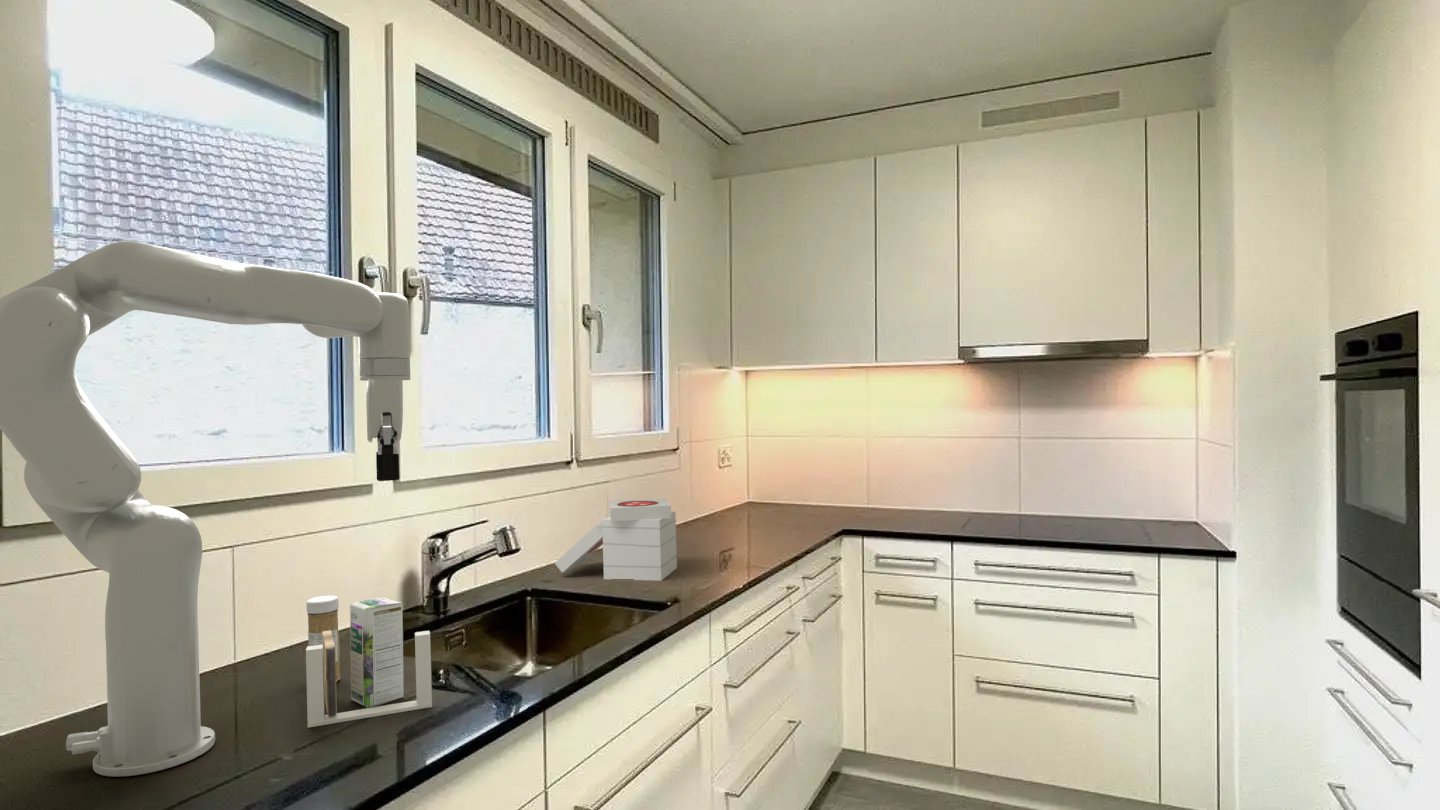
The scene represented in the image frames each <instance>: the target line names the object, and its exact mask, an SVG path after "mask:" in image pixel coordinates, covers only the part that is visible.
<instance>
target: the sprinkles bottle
mask: <svg viewBox="0 0 1440 810" xmlns="http://www.w3.org/2000/svg"><path fill="white" fill-rule="evenodd" d="M339 603H340V601H339V597H338V596H336V595H321V596H315V597H312V598H310V599H307V601H306V613H307V621H308V623H307V625H308V626H307V627H308V631H307V635H308V636H307V638H308V646H315V645H322V631H329V630H331V633H332V636H333V640H334V644H335V655H336V683H337V682H339V681H340V680H341V674H340V654H341V653H340V639H339V638H340V637H339V617H338V616H339V615H338V612H339ZM338 680H339V681H338Z"/></svg>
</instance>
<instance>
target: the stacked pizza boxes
mask: <svg viewBox="0 0 1440 810" xmlns="http://www.w3.org/2000/svg"><path fill="white" fill-rule="evenodd" d="M676 513H677V512H676V511H672V505H671V504H670V502H669V501H668V500H667V498H648V499H647V498H646V499H626V500H623V499H622V500H609V515H610V516H608V517H605V518H603V519H601V521H602V522H601V523H599V524H596V525H595V526H594V527H593V528H592V529H590V530H589V531H588V532H587V533H586V534H585V535H584V536H582V538H580V539H579V541H577V542H576V543H575V544H574V545H573V546H572V547H571V548H569V549H568V550H567V551H566V552H565V553H564V554H562V555H561V557H559V558H557V560H556V561H554V564H555V566H556V567H557V569H559V571H560V572H561V573H564V572H567V571H568V570H570V569H572V568H574V567H576V566H577V565H579V564H581V563H583V562H585V561H586V560H587V559H588V558H589V557H591V555H593V554H594V553H595V552H596V551H597V550H598V549H600V548H601V546H602V556H603V557H602V562H603V563H602V564H603V580H611V579H634V580H633V581H658V582H659V581H663V580H665V578H667V577H668V576H669V575H671V573H673V572H674V571H676V569H677V568H678V560H677V559H678V557H677V556H678V555H677V521H676V519H677V517H676V515H677V514H676Z"/></svg>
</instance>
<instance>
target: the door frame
mask: <svg viewBox="0 0 1440 810" xmlns="http://www.w3.org/2000/svg"><path fill="white" fill-rule="evenodd" d="M431 648H432V647H431V632H430V630H423V631H416V632H414V649H415V650H414V651H415V652H414V653H415V655H414V656H415V689H416V694H415V695H416V697H415V698H416V699H415V700H411V701H405V702H398V703H397V702H396V703H392V704H386V705H377V706H374V707H371V708H366V707H365V708H361V709H355V710H350V711H349V710H348V711H342V712H337V713H336V715H334V716H329V714H326V703H325V698H324V660H323V644H322V645H315V646H309V645H307V646H306V649H305V668H306V669H305V670H306V709H307V728H314V727H320V726H325V725H331V724H337V723H338V724H339V723H344V722H350V721H356V720H362V719H366V718H367V719H370V718H374V717H379V716H386V715H391V714H397V713H405V712H408V711H409V712H411V711H417V710H423V709H429V708H432V707H433V698H432V697H433V694H432V651H431Z"/></svg>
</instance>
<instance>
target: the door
mask: <svg viewBox="0 0 1440 810" xmlns="http://www.w3.org/2000/svg"><path fill="white" fill-rule="evenodd" d="M322 644H323V660H324V699H325V710H326V713H327V714H326V715H329V716H334V715H336V713H338V703H337V682H336V655H335V644H334V640H333V636H332V633H331V630H329V631H322Z"/></svg>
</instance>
